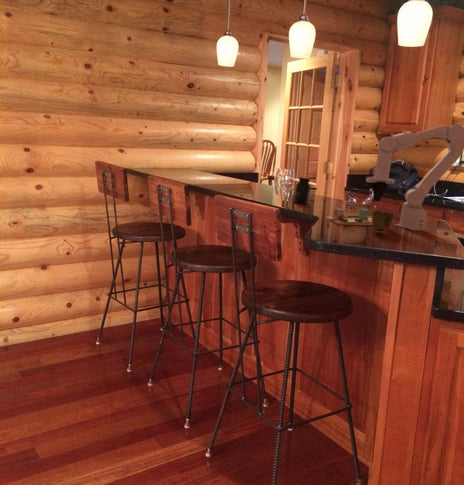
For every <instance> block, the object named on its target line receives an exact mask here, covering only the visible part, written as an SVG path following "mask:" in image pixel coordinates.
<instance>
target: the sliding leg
mask: <svg viewBox="0 0 464 485" xmlns="http://www.w3.org/2000/svg"><path fill="white" fill-rule="evenodd" d="M370 211H371V209H365V208H359V213H358V216H359V217H358V218H359V219H362V220H368V217H369V218H372V216H373V215H370Z"/></svg>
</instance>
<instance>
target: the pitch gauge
mask: <svg viewBox="0 0 464 485" xmlns="http://www.w3.org/2000/svg"><path fill="white" fill-rule="evenodd" d="M333 210H334V211H333V215H331V216H325V217H324V220H325V221H328V222H332V223H335V224H338V225H340V226H373V225H372V218H369V217H368V220H362V219H359V218H358V217H359V215H344V213H345V209H342V208H340V207H339V208H338V207H337V208H334V209H333Z"/></svg>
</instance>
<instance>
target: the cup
mask: <svg viewBox="0 0 464 485" xmlns="http://www.w3.org/2000/svg"><path fill="white" fill-rule="evenodd" d="M371 216H372V225H371V226H372V227H373V229H374V233H375V234H377V235H382V236H383V235H385V233H386V231H388V229H389V228H390V227H391V225H392V222H393V218H394V216H395V214H394V213H392V212H386V211H384V212H383V210H381V211H379V210H374V211H372V215H371Z"/></svg>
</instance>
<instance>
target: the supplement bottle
mask: <svg viewBox="0 0 464 485" xmlns="http://www.w3.org/2000/svg"><path fill="white" fill-rule="evenodd" d="M298 178H299V179H298V181H299V182H297V183H296V184H295V189H294V196H293V202H294V203H295V204H299V205H308V203H309V199H310V193H311V192H310V191H311V188H312V187H311V184H310V180H311V179H310V178H309V177H303V176H299V177H298Z"/></svg>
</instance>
